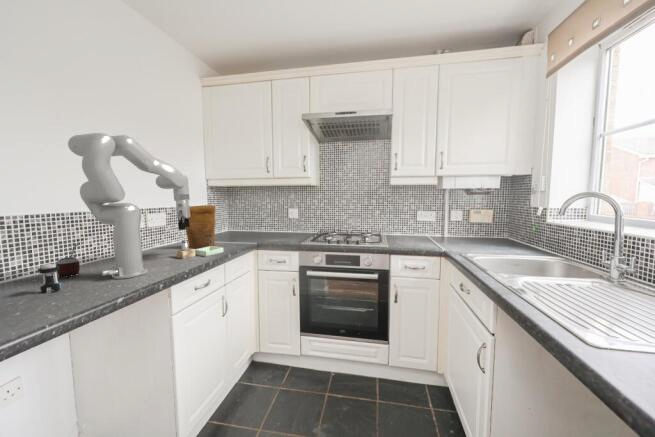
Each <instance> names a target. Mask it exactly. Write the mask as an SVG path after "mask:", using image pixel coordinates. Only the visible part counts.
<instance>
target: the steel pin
mask: <svg viewBox="0 0 655 437" xmlns="http://www.w3.org/2000/svg"><path fill="white" fill-rule="evenodd" d="M180 242H181V249H182V251H187V250H189V242H188V239H184V240H181V241H180Z"/></svg>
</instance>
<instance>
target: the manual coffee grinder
mask: <svg viewBox="0 0 655 437" xmlns="http://www.w3.org/2000/svg"><path fill="white" fill-rule="evenodd" d="M80 244H81V242H78V243H77V244H75V245H74V246H73V247H72V251H71V254H70V257H63V258H60V259H58V260H57V262H56V266H59V270H58V271H57V275H59V277H58V279H61V278H60V277H65V278H67V277H66V276H69V277H72V276H71V275H76V274H79V275H80V273H79V272H80V267H81V265H80V261H79V259H78V258H77V257H73V256H74V252H75V250H76V248H77V246H79V245H80ZM76 276H77V275H76ZM69 277H68V278H69Z"/></svg>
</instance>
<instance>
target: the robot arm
mask: <svg viewBox="0 0 655 437" xmlns="http://www.w3.org/2000/svg"><path fill="white" fill-rule="evenodd" d="M67 146H68V149H69V150H70V151H71V153H73V154H75V155H77V156H79V157H81V158H82V159H81V168H82V172H83V174H84V175H85V177H86V179H87V181H85V182H83V184H81V186H80V188H79V196H80V197H81V200H82V201H83V202H84V204H85V205H86V207H87V209H88V210H89V211H90V213H91V214H92V216H93V217H94V218H95V219H96V221H98V222H99V223H101V224H103V225H107V226H114V227H113V228H114V229H113V231H112V243H113V252H114V254H113V255H114V263H115V265H114V266H112V268H111V269H108V270H107V269H106V270H104V271H103V270H102V271H101V276H102V277H103V276H104V277H105V276H111V278H112V279H114V280H117V279H118V280H120V279H121V280H122V279H131V278H136V277H140V276H142V275H145V274H147V273H148V271H149V270H148V268H145V267H144V259H143V249H142V239H141V221H142V211H141V208H140V207H138V206H137V204H134V203H130V202H122V201H123V200H124V199H125V197H126V192H125V189H124V187H123V185H122V184H121V182H120V181H119V179H118V177H117V176H116V173H115V172H114V171H113V168H112V165H111V158H112V157H122V158H125V159H126V160H127V162H128V161H129V162H130V163H131V164H132V165H134V167H136V168H137V169H138V170H140V171H143V172H145V173H149V174H153V175H158V176H157V177H156V178H155V185H156V186H157V187H158V188H161V189H163V190H170V189H172V192H173V193H172V194H173V201H174V202H175V206H176V207H175V208H176V210H175V211H176V217H177V220H178V221H177V222H178V224H177V225H178V226H177V227H178V230H179V231H182V230H185V231H186V228H185V227H190V222H189V217H190V216H191V214H190V207H191V206H190V202H189V201H190V188H189V187H190V186H189V178H188V176H187V175H183V174H182V172H180V171H179V170H178V169H177V168H176V167H175V166H173V165H172V164H170V163H167V162H165V161H163V160H161V159H159V158H157V157H155V156H153V155H152V154H151V153H150V152H149V151H148V150H146V149H145V147H143V146H142V145H141V144H140V143H139V142H138V141H137V140H135V139H134V138H133V137H132V136H129V135H124V134H121V135H120V134H119V135H109V134H108V133H103V132H102V133H101V132H93V133H84V134H76V135H72V136H71V137H70V138H69V139H68V141H67Z"/></svg>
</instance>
